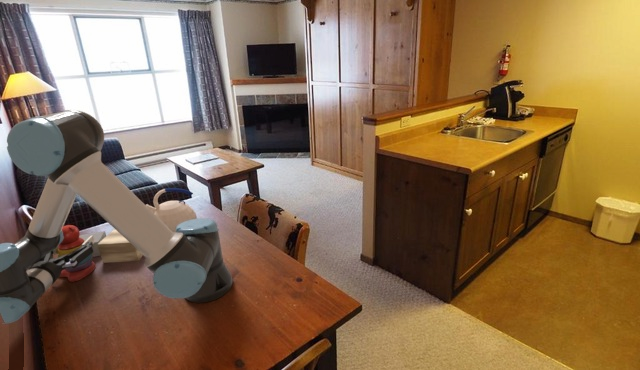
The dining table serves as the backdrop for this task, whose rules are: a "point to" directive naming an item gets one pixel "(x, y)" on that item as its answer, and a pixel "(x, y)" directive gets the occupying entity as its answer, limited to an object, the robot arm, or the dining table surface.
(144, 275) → the dining table surface
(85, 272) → the stacking bear
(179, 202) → the kettle
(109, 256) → the birch block
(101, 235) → the stoneware block
